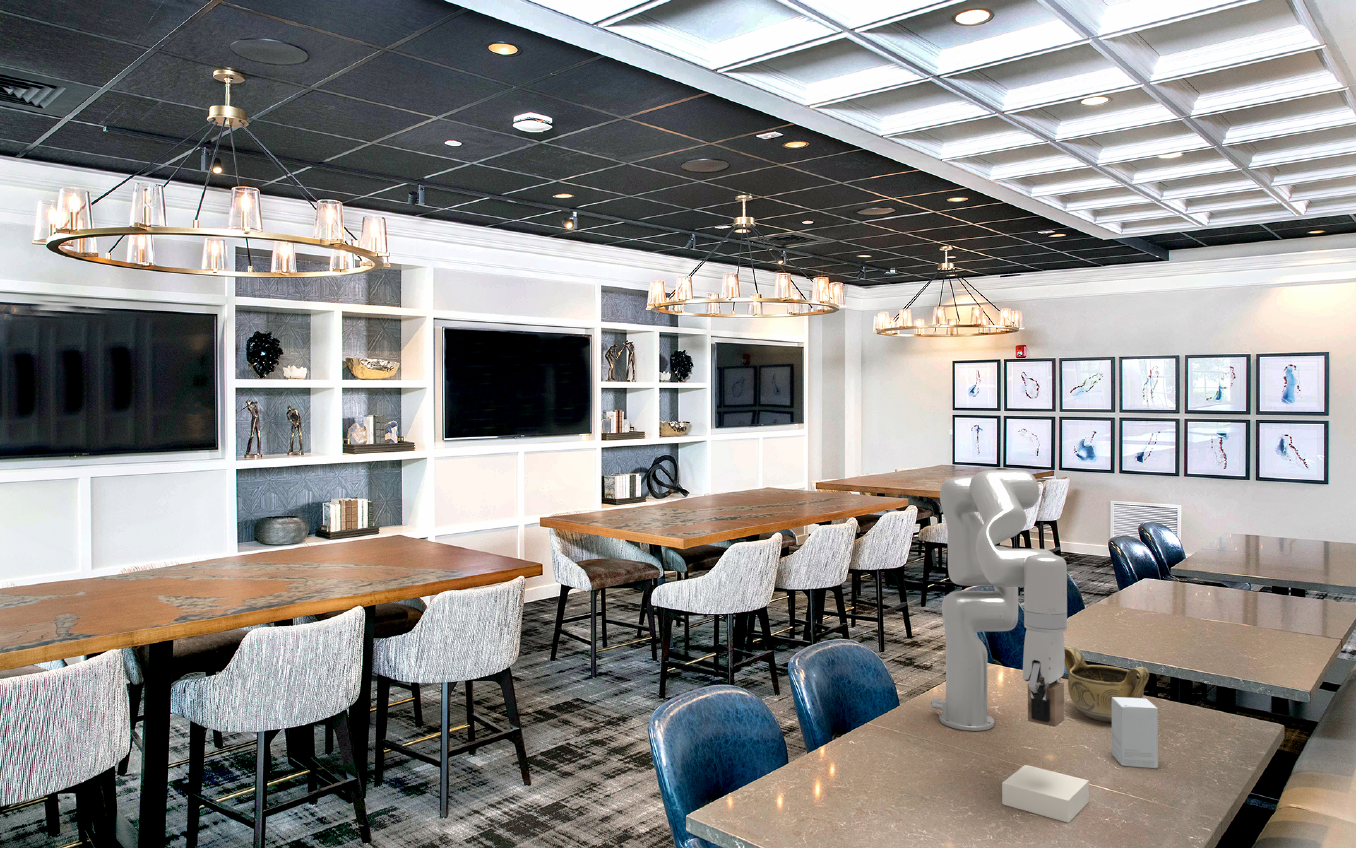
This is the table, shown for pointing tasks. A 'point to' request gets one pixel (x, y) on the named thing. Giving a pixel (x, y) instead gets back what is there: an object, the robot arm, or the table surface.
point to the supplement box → (1135, 732)
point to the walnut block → (1051, 704)
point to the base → (1046, 793)
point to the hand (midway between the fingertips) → (1045, 715)
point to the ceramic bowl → (1101, 685)
